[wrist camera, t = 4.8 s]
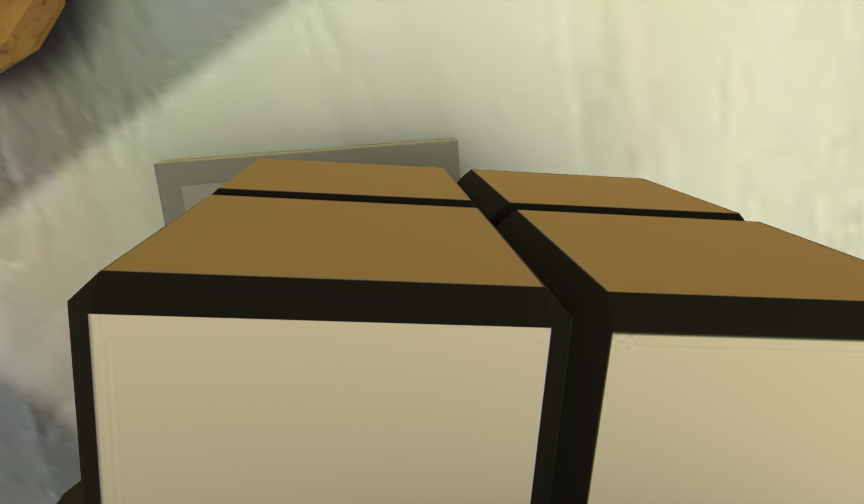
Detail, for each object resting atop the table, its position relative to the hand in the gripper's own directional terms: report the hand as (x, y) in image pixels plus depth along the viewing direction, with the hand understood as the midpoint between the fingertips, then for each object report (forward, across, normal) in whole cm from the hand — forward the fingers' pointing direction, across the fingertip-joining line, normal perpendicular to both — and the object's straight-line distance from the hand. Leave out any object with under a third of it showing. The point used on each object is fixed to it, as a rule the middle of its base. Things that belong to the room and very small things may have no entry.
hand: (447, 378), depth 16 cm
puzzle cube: (+2, 0, 0) cm, 2 cm away
